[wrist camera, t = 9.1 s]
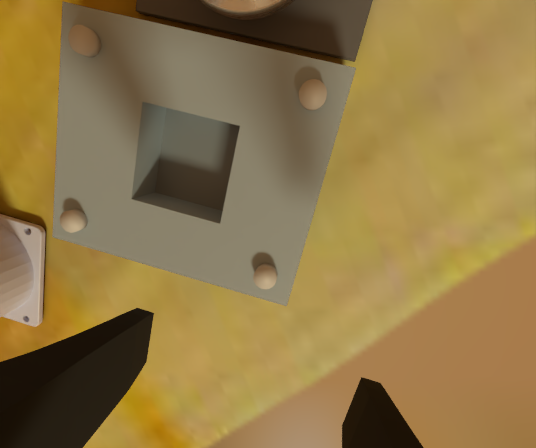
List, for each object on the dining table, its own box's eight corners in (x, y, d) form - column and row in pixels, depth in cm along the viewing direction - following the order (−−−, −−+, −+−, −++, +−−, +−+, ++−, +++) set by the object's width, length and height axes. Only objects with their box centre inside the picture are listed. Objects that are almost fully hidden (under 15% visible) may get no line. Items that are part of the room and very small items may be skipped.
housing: (89, 224, 20) (43, 239, 17) (104, 25, 17) (52, -5, 14) (290, 282, 19) (285, 311, 16) (348, 81, 16) (357, 64, 13)
